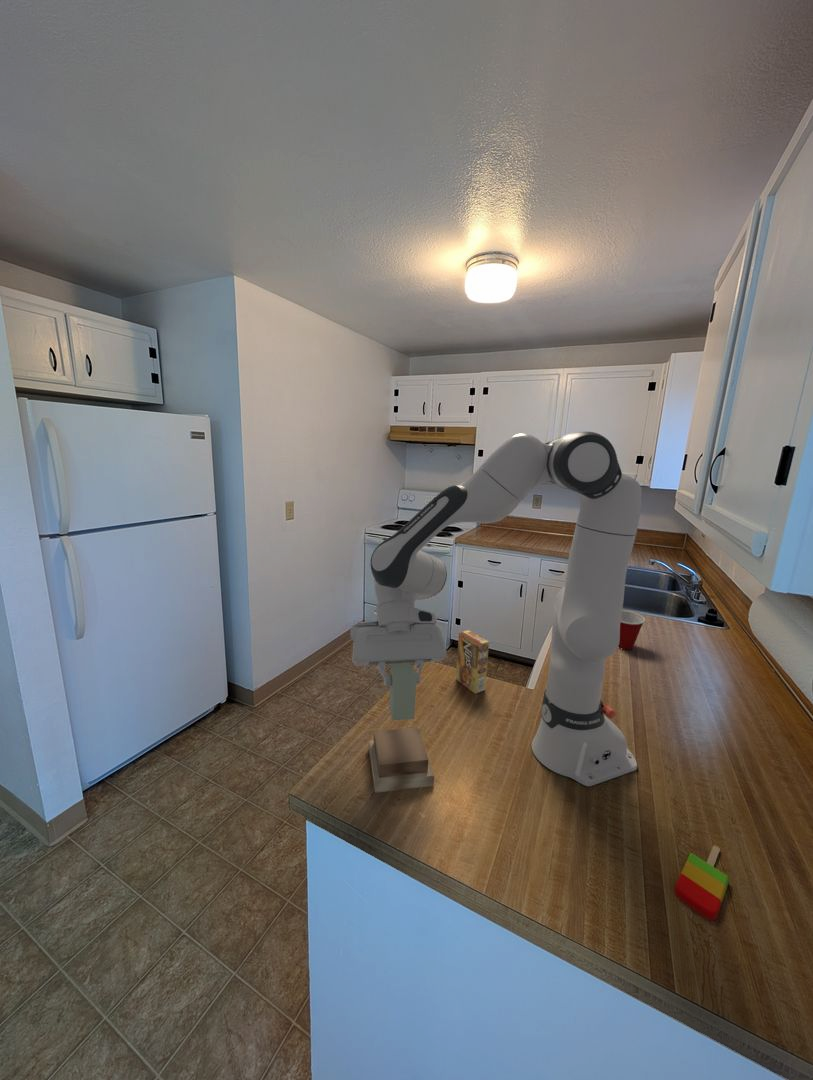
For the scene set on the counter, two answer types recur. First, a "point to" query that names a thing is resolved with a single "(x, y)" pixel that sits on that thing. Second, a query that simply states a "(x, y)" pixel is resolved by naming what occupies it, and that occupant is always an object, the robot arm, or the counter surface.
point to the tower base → (398, 781)
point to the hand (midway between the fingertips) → (402, 684)
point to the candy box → (472, 661)
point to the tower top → (400, 752)
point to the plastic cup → (629, 629)
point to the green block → (402, 691)
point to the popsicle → (702, 884)
